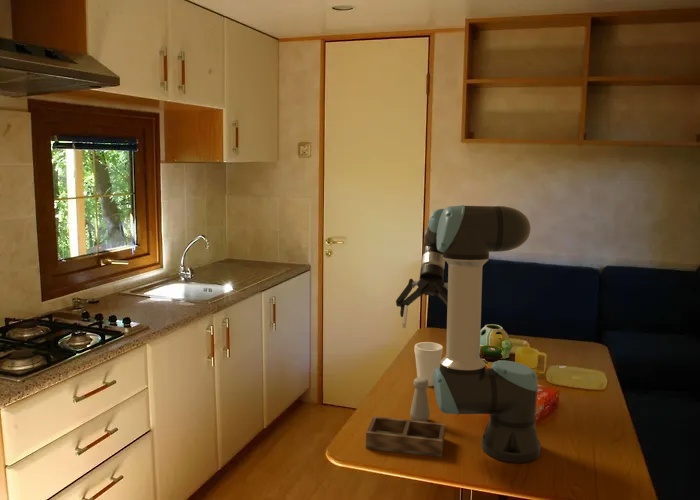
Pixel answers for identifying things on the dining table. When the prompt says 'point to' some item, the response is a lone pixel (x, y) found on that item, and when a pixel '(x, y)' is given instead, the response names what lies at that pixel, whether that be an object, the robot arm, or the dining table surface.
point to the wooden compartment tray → (406, 436)
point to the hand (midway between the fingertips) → (426, 327)
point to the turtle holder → (490, 338)
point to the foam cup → (427, 359)
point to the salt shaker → (420, 401)
